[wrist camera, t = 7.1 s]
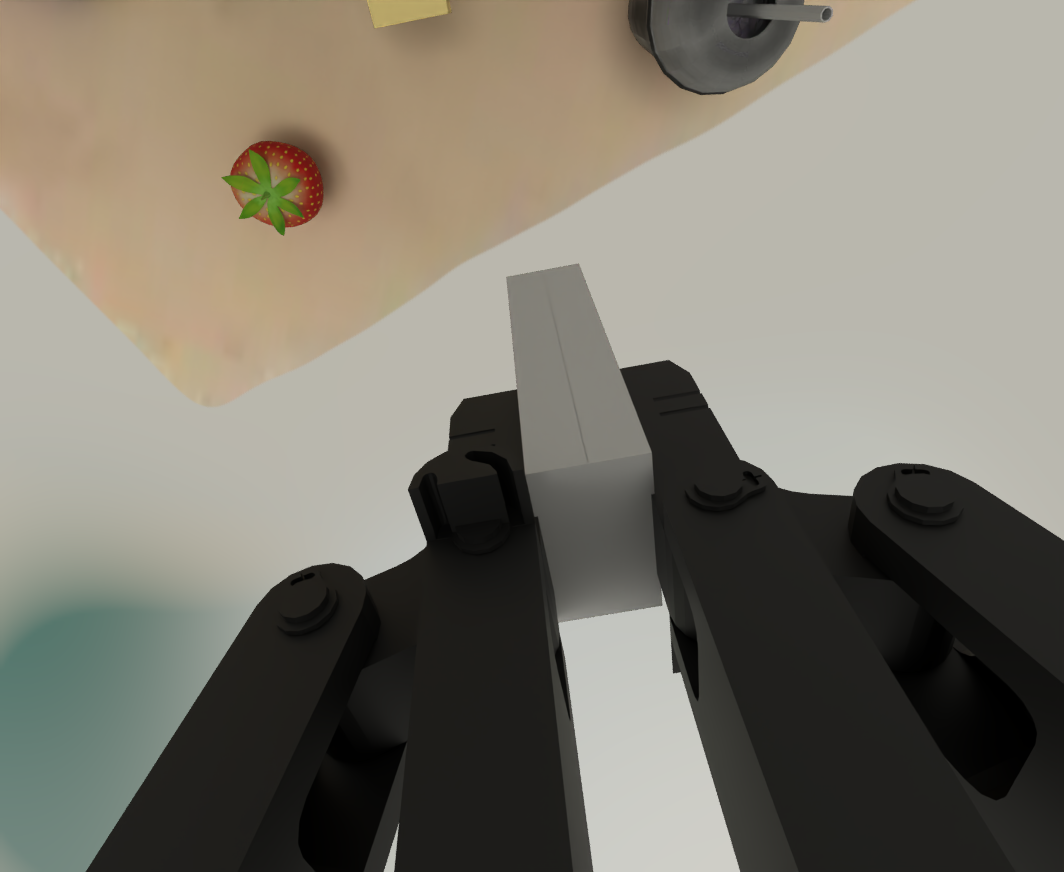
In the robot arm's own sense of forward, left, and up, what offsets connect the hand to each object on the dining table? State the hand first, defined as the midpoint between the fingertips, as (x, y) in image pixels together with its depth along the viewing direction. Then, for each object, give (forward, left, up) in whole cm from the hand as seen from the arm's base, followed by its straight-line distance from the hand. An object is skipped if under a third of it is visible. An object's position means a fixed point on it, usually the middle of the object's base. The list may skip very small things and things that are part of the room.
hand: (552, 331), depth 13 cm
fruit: (+1, -15, -35) cm, 38 cm away
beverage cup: (-4, +11, -35) cm, 37 cm away
